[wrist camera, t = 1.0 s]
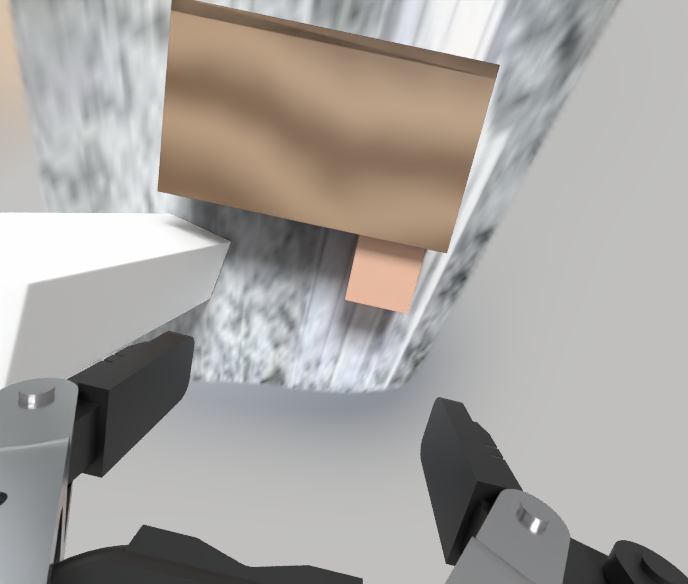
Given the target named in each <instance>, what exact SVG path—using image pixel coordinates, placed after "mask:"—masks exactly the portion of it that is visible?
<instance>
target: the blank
mask: <svg viewBox="0 0 688 584" xmlns="http://www.w3.org/2000/svg"><path fill="white" fill-rule="evenodd" d="M425 250H426V249H425V248H420V247H415V246H411V245H406V244H401V243H397V242H392V241H387V240H383V239H378V238H373V237H369V236H364V235H359V238H358V242H357V247H356V251H355V256H354V260H353V265H352V269H351V274H350V278H349V283H348V287H347V292H346V297H345V300H348V301H352V302H356V303H361V304H365V305H370V306H374V307H379V308H383V309H388V310H392V311H397V312H401V313H406V314H408V312H409V308H410V305H411V301H412V297H413V294H414V290H415V286H416V283H417V279H418V276H419V272H420V268H421V265H422V261H423V257H424V254H425Z"/></svg>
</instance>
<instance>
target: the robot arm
mask: <svg viewBox="0 0 688 584" xmlns="http://www.w3.org/2000/svg"><path fill="white" fill-rule="evenodd" d="M193 351H194V338H193V337H191V336H187V335H183V334H179V333H175V332H171V331H168V332H166V333H164V334H162V335H160V336H159V337H157V338H155V339H153V340H152V341H150V342H143V343H139V344H135V345H131V346H128V347H126V348H125V349H123V350H121V351H119V352H117V353H116V354H115V355H112V356H110V357H108V358H106V359H104V361H100V362H98V363H97V364H95V365H93V366H91V367H89V368H87V369H85V370H84V371H82V372H80V373H78V374H76V375H74V376H72V377H70V378H69V379H67V380H65V379H60V378H37V379H30V380H25V381H21V382H18V383H14V384H12V385H9V386H7V387H5V388H3V389H1V390H0V584H363V579H362V578H358V577H354V576H350V575H346V574H341V573H337V572H334V571H330V570H325V569H321V568H317V567H313V566H309V565H303V566H271V567H249V566H245V565H243V564H241V563H239V562H237V561H236V560H234V559H232V558H231V557H229V556H227V555H226V554H224V553H222V552H220V551H219V550H217V549H215V548H213V547H212V546H210V545H208V544H207V543H205V542H203V541H201V540H200V539H198V538H195V537H191V536H187V535H183V534H179V533H175V532H171V531H167V530H163V529H159V528H155V527H151V526H147V525H143V526H142V527H141V528H140V529H139V531H138V532H137V534H136V535H135V536H134V538H133V539H132V541H131V542H130V544H129V545H120V546H113V547H106V548H101V549H96V550H93V551H88V552H85V553H82V554H79V555H76V556H73V557H70V558H67V559H65V560H64V554H65V545H66V537H67V528H68V520H69V512H70V503H71V496H72V484H73V480H74V479H75V478H76V477H77V476H78V475H80V474H81V473H85V474H89V475H93V476H97V477H103V476H104V475H105V474H106V473H107V472H108V471H109V470H110V469H111V468H112V467H113V466H114V465H115V464H116V463H117V462H118V461H119V460H120V459H121V458H122V457H123V456H124V455H125V454H126V453H127V452H128V451H129V450H130V449H131V448H133V446H135V445H136V444H137V443H138V442H139V441H140V440H141V439H142V438H143V437H144V436H145V435H146V434H147V433H148V432H149V431H150V430H151V429H152V428H153V427H154V426H155V425H156V424H157V423H158V422H159V421H160V420H161V419H162V418H163V417H164V416H165V415H166V414H167V413H168V412H169V411H170V410H171V409H172V408H173V407H174V406H175V405H176V404H177V403H178V402H179V401H180V400H181V399H182V397H183V396H184V394H185V392H186V390H187V387H188V384H189V379H190V372H191V365H192V358H193ZM420 455H421V462H422V466H423V471H424V474H425V479H426V483H427V487H428V491H429V496H430V500H431V504H432V508H433V512H434V516H435V520H436V525H437V528H438V533H439V537H440V541H441V545H442V549H443V553H444V558H445V562H446V564H449V565H454V566H455V567H454V569H453V571H452V572H451V574H450V576H449V578H448V579H447V581H446V583H445V584H688V578H687V577H686V576H685V575H684V574H683V573H682V572H681V571H680V570H679V569H677V568H676V567H675V566H674V565H672V564H671V563H670V562H669V561H667V560H666V559H664V558H663V557H661V556H660V555H658V554H657V553H655V552H653V551H652V550H650V549H648V548H646V547H644V546H641V545H639V544H637V543H634V542H631V541H626V540H621V541H618V542H616V543H615V545H614V547H613V549H612V551H611V553H610V555H609V556H607V555H605V554H603V553H601V552H599V551H597V550H595V549H593V548H590V547H589V546H586V545H584V544H582V543H580V542H578V541H576V540H574V539H572V538H570V533H569V530H568V528H567V526H566V525H565V523H564V521H563V520H562V519H561V518H560V517H559V516H558V514H557V513H556V512H555V511H554V510H553V509H551V508H550V507H549V506H548V505H547V504H545V503H544V502H542V501H541V500H539V499H538V498H536V497H534V496H533V495H530V494H529V493H526V492H524V491H523V490H522V488H521V487H520V485H519V483H518V481H517V480H516V478H515V477H514V475H513V473H512V471H511V470H510V468H509V466H508V465H507V463H506V461H505V460H503V456H502V454H501V453H500V451H499V449H497V446H496V444H495V443H494V441H493V439H492V438H491V436H490V434H489V433H488V432H487V431H486V430H484V429H483V428H482V427H481V426H480V425H479V424H478V423H477V422H473V421H472V419H471V417H470V416H469V414H468V412H467V410H466V408H465V406H464V405H463V403H461V402H457V401H453V400H448V399H445V398H440V397H438V398H437V399H436V400H435V403H434V405H433V408H432V411H431V414H430V417H429V421H428V423H427V426H426V429H425V433H424V436H423V439H422V443H421V454H420Z"/></svg>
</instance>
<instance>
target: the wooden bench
mask: <svg viewBox="0 0 688 584" xmlns="http://www.w3.org/2000/svg"><path fill="white" fill-rule="evenodd" d="M499 66H500V65H498V64H493V63H488V62H484V61H479V60H474V59H470V58H465V57H460V56H455V55H451V54H446V53H441V52H436V51H432V50H427V49H422V48H418V47H413V46H408V45H403V44H399V43H394V42H389V41H384V40H380V39H375V38H370V37H366V36H361V35H356V34H351V33H347V32H342V31H337V30H332V29H328V28H323V27H318V26H314V25H309V24H304V23H299V22H295V21H290V20H285V19H280V18H276V17H271V16H266V15H262V14H257V13H252V12H247V11H243V10H238V9H233V8H228V7H224V6H219V5H214V4H210V3H205V2H200V1H195V0H172V3H171V17H170V31H169V44H168V58H167V71H166V85H165V98H164V112H163V125H162V139H161V152H160V166H159V180H158V191H159V192H164V193H168V194H173V195H178V196H182V197H187V198H192V199H196V200H201V201H206V202H210V203H215V204H220V205H224V206H229V207H234V208H238V209H243V210H248V211H252V212H257V213H262V214H266V215H271V216H276V217H280V218H285V219H289V220H294V221H299V222H303V223H308V224H313V225H317V226H322V227H327V228H331V229H336V230H341V231H345V232H350V233H355V234H359V235H364V236H369V237H373V238H378V239H383V240H387V241H392V242H397V243H401V244H406V245H411V246H415V247H420V248H425V249H429V250H434V251H438V252H443V253H447V251H448V247H449V244H450V240H451V237H452V233H453V230H454V226H455V223H456V219H457V215H458V212H459V208H460V205H461V201H462V198H463V194H464V191H465V187H466V183H467V180H468V176H469V173H470V169H471V166H472V162H473V159H474V155H475V151H476V148H477V144H478V141H479V137H480V134H481V130H482V126H483V123H484V119H485V116H486V112H487V109H488V105H489V102H490V98H491V94H492V91H493V87H494V84H495V80H496V77H497V73H498V70H499Z"/></svg>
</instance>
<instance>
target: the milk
mask: <svg viewBox="0 0 688 584" xmlns="http://www.w3.org/2000/svg"><path fill="white" fill-rule="evenodd" d="M230 244H231V242H230V241H229V240H226V239H224V238H222V237H220V236H218V235H216V234H213V233H211V232H209V231H207V230H205V229H203V228H200V227H198V226H196V225H194V224H192V223H190V222H187V221H185V220H183V219H181V218H179V217H177V216H174V215H172V214H142V213H6V212H5V213H4V212H0V390H1V389H3V388H5V387H7V386H9V385H12V384H14V383H18V382H21V381H25V380H30V379H37V378H60V379H65V378H66V377H68V376H70V375H72V374H74V373H76V372H78V371H79V370H81V369H83V368H85V367H87V366H88V365H90V364H92V363H94V362H96V361H98V360H99V359H101V358H103V357H105V356H107V355H109V354H110V353H112V352H114V351H116V350H118V349H119V348H121V347H123V346H125V345H127V344H129V343H130V342H132V341H134V340H136V339H138V338H140V337H141V336H143V335H145V334H147V333H149V332H150V331H152V330H154V329H156V328H158V327H160V326H161V325H163V324H165V323H167V322H169V321H170V320H172V319H174V318H176V317H178V316H180V315H181V314H183V313H185V312H187V311H189V310H191V309H192V308H194V307H196V306H198V305H200V304H201V303H203V302H205V301H207V300H209V299H210V297H211V294H212V292H213V289H214V286H215V284H216V281H217V278H218V276H219V273H220V270H221V268H222V265H223V262H224V260H225V257H226V254H227V252H228V249H229V246H230Z"/></svg>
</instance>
